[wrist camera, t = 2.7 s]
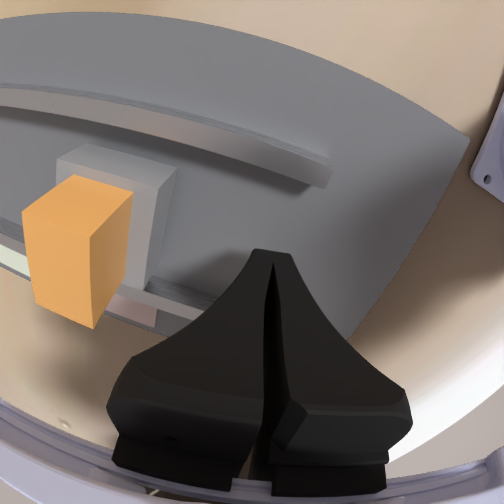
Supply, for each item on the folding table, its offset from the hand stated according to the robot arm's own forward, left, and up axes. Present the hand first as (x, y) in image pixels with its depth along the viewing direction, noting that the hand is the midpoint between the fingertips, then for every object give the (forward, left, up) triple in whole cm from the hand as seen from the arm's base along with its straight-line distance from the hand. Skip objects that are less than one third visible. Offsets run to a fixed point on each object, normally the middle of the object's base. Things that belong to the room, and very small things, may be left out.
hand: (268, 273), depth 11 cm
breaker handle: (+6, 0, -1) cm, 6 cm away
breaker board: (+5, 0, -4) cm, 7 cm away
